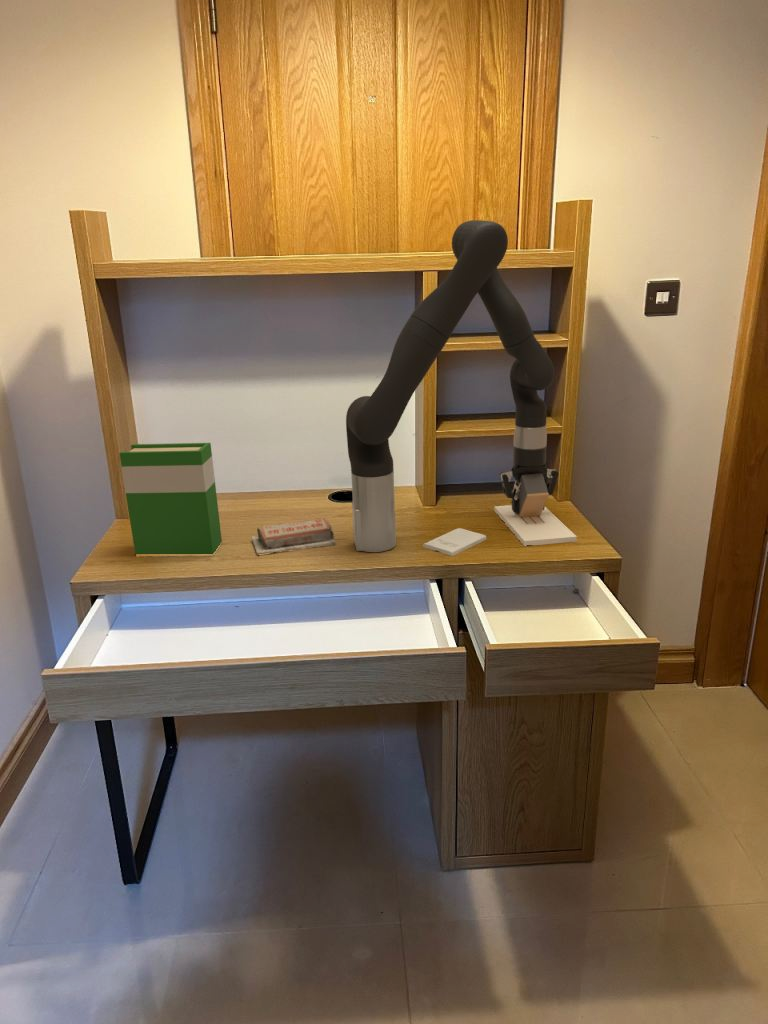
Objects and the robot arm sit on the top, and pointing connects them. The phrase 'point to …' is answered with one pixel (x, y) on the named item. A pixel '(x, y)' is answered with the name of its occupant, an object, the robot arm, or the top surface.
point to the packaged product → (293, 536)
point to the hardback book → (171, 498)
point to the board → (536, 527)
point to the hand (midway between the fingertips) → (528, 512)
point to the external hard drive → (455, 541)
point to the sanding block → (532, 495)
